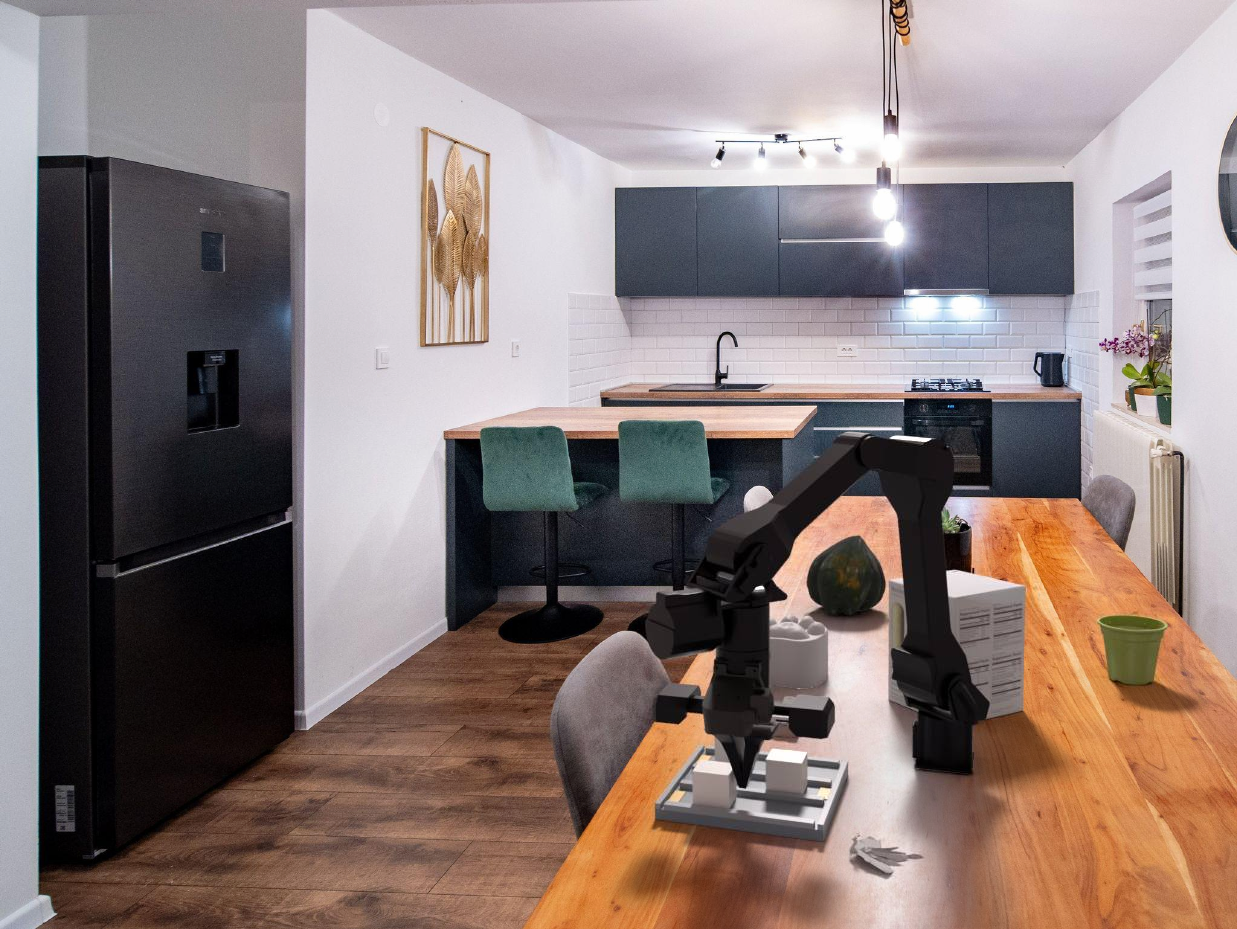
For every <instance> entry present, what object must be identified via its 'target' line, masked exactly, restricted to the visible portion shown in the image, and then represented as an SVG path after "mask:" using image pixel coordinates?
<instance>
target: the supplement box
mask: <svg viewBox="0 0 1237 929" xmlns="http://www.w3.org/2000/svg"><path fill="white" fill-rule="evenodd" d="M946 574H947V586H948V598H949V610H950V623H951V630H952V633H953V635H954V636H955V638H956V640H957V641H958V643H959V644H960V646H961V648H962V649H963V651H964V653H965V654H966V657H967V661H968V666H969V670H970V674H971V680H972V683H973V684H974V685H975V686H976V687H977V688H978V690H979V691H980V692H981V693H982V694H983V695H984V696H985V697H986V698H987V699H988V701H989V702H990V706H989V710H988V714H987V717H986V719H985V720H988V719H992V718H996V717H1001V716H1006V715H1010V714H1014V713H1018V712H1022V711H1024V687H1025V686H1024V683H1025V682H1024V679H1025V678H1024V677H1025V634H1026V632H1025V628H1026V627H1025V626H1026V588H1027V587H1026V586H1025V585H1024V584H1019V583H1013V582H1009V581H1006V580H1000V579H997V578H993V577H990V576H987V575H986V576H984V575H980V574H975V573H971V572H967V571H962V570H957V569H952V570H946ZM906 634H907V619H906V608H905V597H904V586H903V577H899V578H893V579H889V580H888V678H887V679H888V685H887V686H888V688H887V689H888V690H887V691H888V693H887V694H888V697H887V698H888V701H891V702H893V703H895V704H898V705H901V706H903V707H905V708H907V709H910V710H913V711H915V712H917V713H918V711H919V710H918V709H915V708H913V707H908V706H907V705H906V702H905V699H904V695H903V693H902V691H900V690H899V688H898V686H897V682H896V681H895V680H893V679H892V674H893V662H892V658H891V649H892V648H894V647H900V645H901V643H902V642H903V640H904V638H905V636H906Z"/></svg>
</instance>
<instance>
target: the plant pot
mask: <svg viewBox="0 0 1237 929" xmlns="http://www.w3.org/2000/svg"><path fill="white" fill-rule="evenodd" d="M1096 622H1097V625H1099V628H1100V632H1101V634H1102V638H1103V639H1102V640H1103V645H1104V652H1105V658H1106V659H1105V661H1106V668H1107V676H1108V678H1109V679H1110V680H1112V681H1119V682H1120V683H1122V684H1125V685H1133V686H1134V685H1136V686H1137V685H1138V686H1142V685H1147V683H1154V682H1155V675H1156V669H1157V664H1158V658H1159V652H1160V648H1161V643H1162V639H1163V638H1164V636H1165V631H1166V630H1167V629H1168V628H1169V626H1168V623H1166V622H1165V621H1163V620H1161V619H1158V618H1155V617H1154V618H1153V617H1149V616H1142V615H1134V614H1133V615H1132V614H1111V615H1109V614H1108V615H1104V616H1100V617H1099V618H1097V619H1096Z"/></svg>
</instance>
